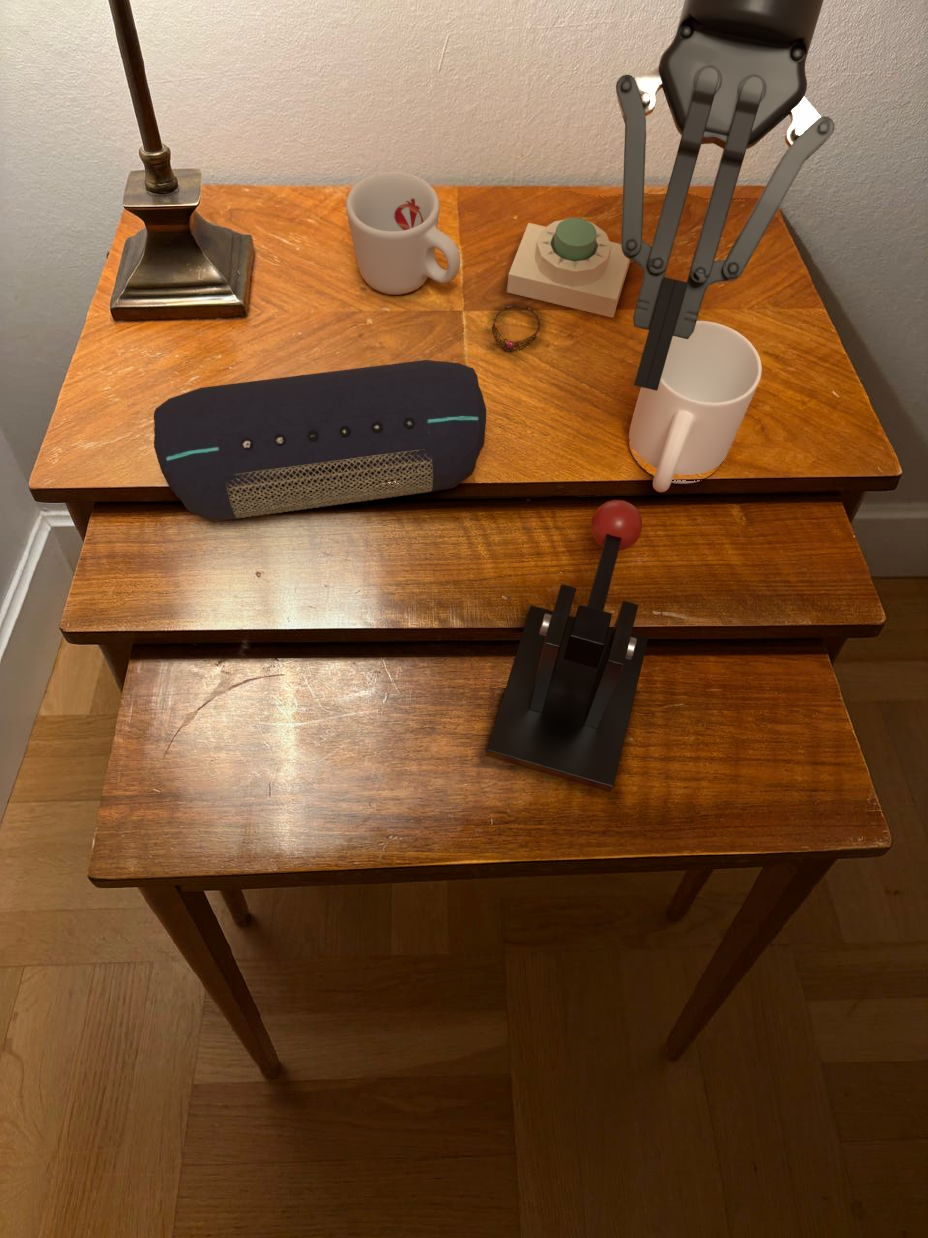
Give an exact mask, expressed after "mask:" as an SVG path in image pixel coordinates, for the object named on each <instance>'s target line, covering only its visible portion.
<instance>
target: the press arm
mask: <svg viewBox="0 0 928 1238" xmlns="http://www.w3.org/2000/svg"><path fill="white" fill-rule="evenodd" d="M590 529H591V534H592V536H593V539H594V540H595V542H596V543H597V544H598V545H599V546H601V547H602V548H601V552H600V555H599V559H598V564H597V566H596V571H595V575H594V578H593V581H592V585H591V589H590V593H589V597H588V601H587V605H582V604H578V605H577V609H576V611H575V616H574V617H575V619H574V623H573V626H572V630H571V634H570V637H569V641H568V644H567V648H566V652H565V655H564V660H568V661H571V662H575V663H578V664H582V665H586V666H589V667H593V668H597V667H598V664H599V661H600V658H601V655H602V652H603V649H604V646H605V642H606V638H607V634H608V629H609V627H610V624H611V621H612V617H613V613H611V612H608V611H605V606H606V602H607V600H608V595H609V591H610V587H611V583H612V579H613V575H614V571H615V566H616V562H617V560H618V555H619V552H620V551H621V552H622V551H624V550H627V549H630V548H631V547H633V546H634V545H635V544H636V543H637V542H638V540H639V539H640V537H641V535H642V532H643V518H642V515H641V514H640V512H639V510H638V509H637V507H636V506H635V505H634V504H632V503H630V502H628V501H626V500H623V499H612V500H609V501H606V502H604V503H603V504H601V505H600V506H598V508H597V509H596V510H595V511H594V513H593V515H592V518H591V522H590Z"/></svg>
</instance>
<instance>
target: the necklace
mask: <svg viewBox="0 0 928 1238" xmlns="http://www.w3.org/2000/svg"><path fill="white" fill-rule="evenodd" d="M510 308H519V305H517V304H516V305H515V304H514V305H510V306H509V305H508V306H505V307H503V308H502V309H501V310H500V311H498V312H497V314H496V315H495V318H493V323H492V324H493V325H492V327H491V331H492V335H493V338H494V341H495V345H497V347H499V348H500V349H501V350H502V351H504V352H506V353H512V352H520V351H523V350H524V349H525V348H526V347H527V346H528V345H530V343H531V342H534V341H535V340H536V339H537V337H538V336H537V332H534V333H533V334H532V335H530V336H528V337H526V338H524V340H523V339H520V340H519V341H514V342H513V341H512V340H511V339H510V340H508V339H506V338H504V336H502V334H501V333H500V331H499V330H498V327H497V326H496V321H497V318H498V316H499V315H500V314H501V313H502V312H503V311H504V310H507V309H510ZM520 308H522V309H526V310H528V311H530V312H531V313H532V314H534V315H535V316H536V318H537V321H538V322H537V324H538V326H537V329H541V328H540V327H541V321H540V316H539V315H538V314H537V313H536V311H534V310H533V309H532V308H530V307H527V306H526V307H525V305H520Z"/></svg>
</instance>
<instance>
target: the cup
mask: <svg viewBox="0 0 928 1238" xmlns="http://www.w3.org/2000/svg"><path fill="white" fill-rule="evenodd" d="M440 206H441V205H440V199H439V196H438V194H437V192H436V190H435V189H434V187H432V185H431V184H430V183H429V182H427V181H426V180H424V179H422V178H421V177H419V176H416V175H414V174H411V173H408V172H404V171H403V172H402V171H382V172H377V173H374V174H370V175H368V176H366V177H364V178H363V179H360V180H359V181H358V182H357V183H356V184H354V185H353V187H352V188H351V189H350V191H349V192H348V195H347V197H346V200H345V210H346V211H345V212H346V216H347V221H348V226H349V229H350V234H351V240H352V244H353V248H354V254H355V258H356V264H357V265H358V266H357V267H358V270H359V272H360V275H361V277H362V279H363V280H364V282H365V283H366V284H367V285H368V286H369V287H370V288H372V289H373V290H375V291H377V292H378V293H382V294H385V295H390V296H391V295H393V296H398V295H399V296H401V295H407V294H410V293H412V292H414V291H416V290H418V289H419V288H420V287H422V286H423V285H424V284H425V283H426V281H427V280H428V278H429V279H431V280H433V281H435V282H437V283H440V284H448V283H451V281H453V280H454V279H455V278H456V276H457V275H458V273H459V271H460V266H461V254H460V250H459V247H458V246H457V244H456V243H455V241H454V240H453V239H452V238H451V237H450V236H448V235H447V234H446V233H445V232H443V231H442V230H439V229H438V225H439V217H440V210H441V209H440V208H441V207H440ZM436 249H437V250H438V251H440V252H441V253H442V254H443V255H444V258H445V260H446V263H447V269H444V268H442V267H441V266H440V265H439V263H438V261H437V259H436V255H435V251H436Z"/></svg>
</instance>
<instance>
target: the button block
mask: <svg viewBox="0 0 928 1238" xmlns="http://www.w3.org/2000/svg"><path fill="white" fill-rule="evenodd" d="M563 220H564V219H561V220H560V219H559V220H555V221H553V222H551V223H550V224H548V225H547V226H544V225H540V224H535V223H531V222H528V223H527V226H526V228H525V230H524V232H523V236H522V238H521V240H520V243H519V246H518V248H517V251H516V254H515V256H514V258H513V262H512V264H511V266H510V270H509V272H508V274H507V285H506V293H508V294H513V295H516V296H521V297H525V298H527V299H528V298H530V299H531V300H532V299H533V300H537V301H541V302H545V303H550V304H554V305H557V306H558V305H559V306H562V307H566V308H570V309H574V310H578V311H583V312H587V313H591V314H594V315H599V316H603V317H607V318H612V319H613V318H614V317H615V313H616V309H617V306H618V303H619V299H620V297H621V293H622V290H623V287H624V283H625V280H626V277H627V274H628V270H629V268H630V264H631V260H630V259H628V258H627V257H625V256H624V254H623V251H622V247H621V243H617V242H614V241H610V238H609V237H608V234H607V232H606V231H605V230H603V229H602V228H600V227H599V226H598V225H596V224H595V223H593V222H592V221H589V222H590V223H591V224H592V225H593V226H594V227H595V229H596V232H597V235H596V241H595V246H594V251H593V254H592V255H591V256H590V257H589V258H588V259H586V260H582V261H575V262H574V261H570V260H566V259H562V258H561V257H560V256H558V255H557V254H556V252H555V250H554V240H555V232H556V227H557V226H558V224H559V223H560V222H561V221H563Z"/></svg>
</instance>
